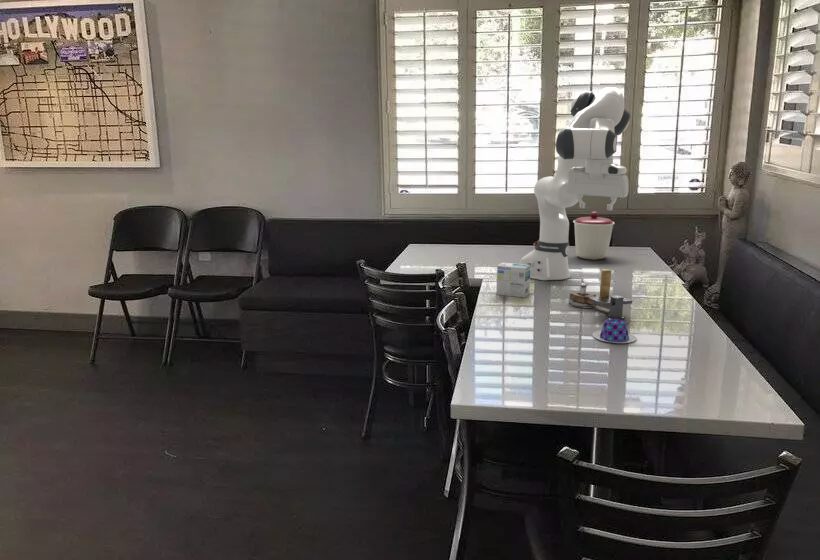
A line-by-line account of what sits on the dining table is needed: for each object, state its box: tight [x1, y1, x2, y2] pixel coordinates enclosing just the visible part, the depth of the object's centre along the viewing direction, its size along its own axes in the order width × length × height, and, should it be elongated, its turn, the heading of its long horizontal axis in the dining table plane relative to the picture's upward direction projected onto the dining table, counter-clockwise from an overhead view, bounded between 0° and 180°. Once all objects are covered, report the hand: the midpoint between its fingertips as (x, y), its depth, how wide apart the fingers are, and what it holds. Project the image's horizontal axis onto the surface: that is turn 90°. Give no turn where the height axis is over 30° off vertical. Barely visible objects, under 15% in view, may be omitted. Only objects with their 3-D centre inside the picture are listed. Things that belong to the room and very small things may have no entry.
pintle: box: [568, 282, 597, 308], centre depth 221 cm, size 9×9×7 cm
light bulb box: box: [495, 262, 531, 299], centre depth 234 cm, size 11×7×11 cm, turn 65°
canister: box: [572, 211, 615, 261], centre depth 298 cm, size 18×18×21 cm
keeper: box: [590, 294, 633, 321], centre depth 207 cm, size 8×11×7 cm
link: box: [569, 268, 612, 310], centre depth 215 cm, size 18×6×12 cm, turn 33°
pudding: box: [592, 318, 637, 344], centre depth 187 cm, size 12×12×5 cm
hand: (595, 209), depth 223 cm, fingers open, 8 cm apart
